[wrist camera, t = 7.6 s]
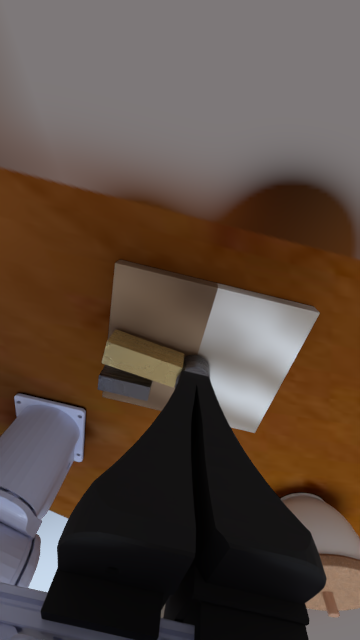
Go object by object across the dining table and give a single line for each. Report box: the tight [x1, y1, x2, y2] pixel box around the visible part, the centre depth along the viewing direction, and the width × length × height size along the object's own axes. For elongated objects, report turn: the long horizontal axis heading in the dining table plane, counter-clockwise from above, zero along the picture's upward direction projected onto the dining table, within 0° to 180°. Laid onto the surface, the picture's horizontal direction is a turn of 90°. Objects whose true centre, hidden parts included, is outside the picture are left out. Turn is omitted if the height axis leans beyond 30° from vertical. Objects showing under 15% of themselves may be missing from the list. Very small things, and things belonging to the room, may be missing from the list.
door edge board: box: [102, 260, 320, 433], centre depth 22 cm, size 14×16×1 cm
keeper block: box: [98, 365, 153, 401], centre depth 22 cm, size 2×4×2 cm, turn 77°
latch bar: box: [102, 329, 210, 388], centre depth 20 cm, size 9×3×3 cm, turn 70°
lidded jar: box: [281, 493, 360, 617], centre depth 28 cm, size 11×11×9 cm
